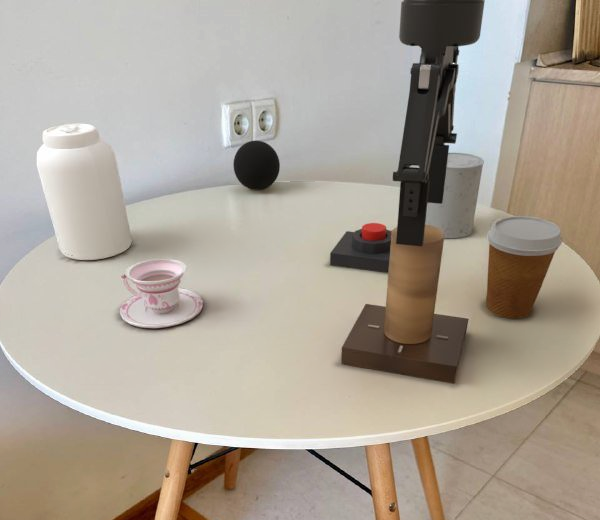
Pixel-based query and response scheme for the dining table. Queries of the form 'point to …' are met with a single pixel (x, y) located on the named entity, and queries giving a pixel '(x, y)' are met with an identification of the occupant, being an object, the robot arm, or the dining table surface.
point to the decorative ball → (256, 165)
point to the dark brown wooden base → (406, 347)
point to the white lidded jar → (83, 192)
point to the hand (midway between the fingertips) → (421, 221)
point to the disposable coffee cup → (518, 263)
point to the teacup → (158, 295)
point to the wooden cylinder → (413, 287)
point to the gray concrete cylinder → (457, 196)
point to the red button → (374, 231)
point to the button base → (362, 252)
